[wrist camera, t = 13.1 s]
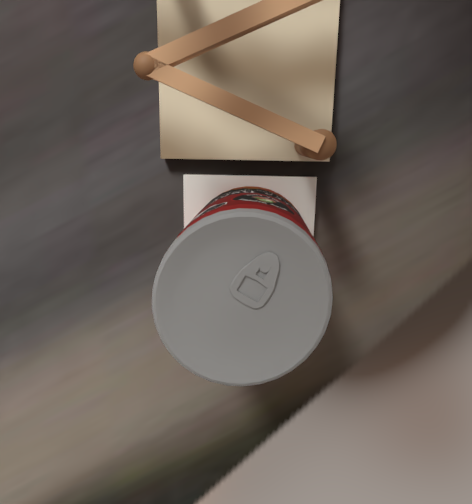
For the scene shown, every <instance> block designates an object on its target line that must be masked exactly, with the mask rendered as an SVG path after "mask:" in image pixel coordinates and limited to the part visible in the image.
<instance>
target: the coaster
mask: <svg viewBox="0 0 472 504" xmlns="http://www.w3.org/2000/svg"><path fill="white" fill-rule="evenodd" d="M183 181H184V228H185V227H186V226H187V225H188V224H189V223H190V222H191V221H192V220H193V218H194V217H195V216H196V215H197V214H198V213H199V212H200V211H201V210H202V209H203V208H204V207H205V206H206V205H207V204H208V203H209V202H210V201H211V200H212V199H213V198H215V197H217V196H218V195H220V194H221V193H223V192H226V191H228V190H231V189H233V188H239V187H244V186H254V187H262V188H266V189H270V190H272V191H274V192H276V193H279V194H281V195H282V196H283V197H285V198H286V199H287V200H289V201H290V202H291V203H292V204H293V206H294V207H295V208H296V209H297V210H298V212H299V213H300V215H301V217H302V218H303V220H304V222H305V224H306V225H307V227H308V229H309V230H310V232H311V234H312V235H313V236H314V219H315V203H316V186H317V177H309V176H259V175H210V174H184V175H183Z"/></svg>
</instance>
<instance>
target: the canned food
mask: <svg viewBox="0 0 472 504" xmlns="http://www.w3.org/2000/svg"><path fill="white" fill-rule="evenodd" d="M332 301H333V295H332V284H331V276H330V273H329V269H328V266H327V263H326V260H325V258H324V256H323V253H322V252H321V250H320V248H319V246H318V244H317V242H316V241H315V239H314V237H313V235H312V234H311V232H310V230H309V229H308V227H307V225H306V224H305V222H304V220H303V218H302V217H301V215H300V213H299V212H298V210H297V209H296V208H295V207H294V206H293V204H292V203H291V202H290V201H289V200H287V199H286V198H285V197H283V196H282V195H281V194H279V193H276V192H274V191H272V190H270V189H266V188H262V187H254V186H244V187H239V188H233V189H231V190H228V191H226V192H223V193H221V194H220V195H218V196H217V197H215V198H213V199H212V200H211V201H210V202H209V203H208V204H207V205H206V206H205V207H204V208H203V209H202V210H201V211H200V212H199V213H198V214H197V215H196V216H195V217H194V218H193V220H192V221H191V222H190V223H189V224H188V225H187V226H186V227H185V228H184V229H183V231H182V232H181V233H180V234H179V235H178V236H177V238H176V239H175V240H174V242H173V243H172V245H171V246H170V247H169V249H168V250H167V252H166V253H165V254H164V257H163V259H162V261H161V264H160V266H159V268H158V270H157V273H156V276H155V281H154V285H153V290H152V312H153V317H154V322H155V326H156V329H157V331H158V333H159V336H160V338H161V341H162V342H163V344H164V345H165V347H166V348H167V350H168V351H169V353H170V354H171V355H172V356H173V357H174V358H175V359H176V360H177V361H178V362H179V363H180V364H181V365H182V366H183V367H185V368H186V369H187V370H189V371H190V372H192V373H193V374H195V375H197V376H199V377H201V378H203V379H206V380H208V381H210V382H214V383H218V384H223V385H227V386H250V385H258V384H263V383H266V382H269V381H272V380H275V379H278V378H280V377H281V376H283V375H285V374H287V373H289V372H291V371H292V370H294V369H295V368H296V367H297V366H299V365H300V364H301V363H302V362H304V361H305V360H306V359H307V358H308V356H309V355H310V354H311V353H312V352H313V351H314V350H315V348H316V347H317V346H318V344H319V342H320V340H321V339H322V337H323V335H324V333H325V331H326V328H327V325H328V322H329V319H330V316H331V309H332Z"/></svg>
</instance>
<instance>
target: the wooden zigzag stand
mask: <svg viewBox="0 0 472 504" xmlns="http://www.w3.org/2000/svg"><path fill="white" fill-rule="evenodd" d="M339 9H340V0H157V25H158V48H156V49H154V50H152V51H150V52H141V53H139V54H138V55H137V56H136V58H135V60H134V70H135V72H136V74H137V75H138V76H139V77H140V78H141V79H144V80H152V79H154V80H156V81H158V82H159V106H160V146H161V159H214V160H268V161H322V162H329V161H330V157H331V156H332V155H333V154H334V152H335V150H336V146H337V142H336V138H335V136H334V135H333V133H331V130H332V115H333V100H334V85H335V70H336V55H337V40H338V25H339Z"/></svg>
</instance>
